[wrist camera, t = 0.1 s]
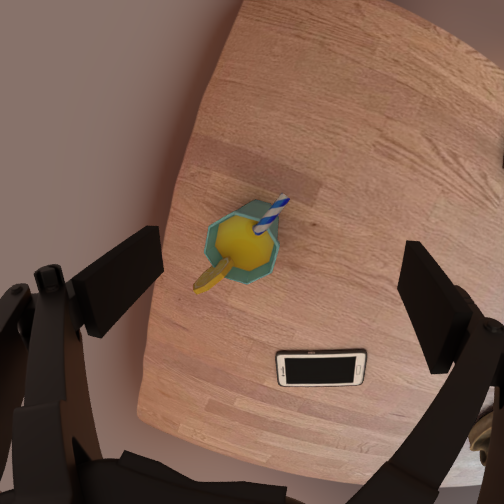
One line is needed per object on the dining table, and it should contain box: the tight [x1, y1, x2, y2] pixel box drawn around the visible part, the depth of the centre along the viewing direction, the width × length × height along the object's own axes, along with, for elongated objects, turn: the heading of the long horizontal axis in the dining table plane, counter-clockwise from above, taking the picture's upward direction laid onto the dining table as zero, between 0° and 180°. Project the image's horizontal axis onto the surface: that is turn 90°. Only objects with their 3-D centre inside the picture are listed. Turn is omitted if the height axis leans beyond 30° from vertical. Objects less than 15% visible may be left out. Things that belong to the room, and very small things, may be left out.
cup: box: [193, 193, 290, 294], centre depth 33 cm, size 14×8×15 cm, turn 144°
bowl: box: [468, 412, 493, 466], centre depth 43 cm, size 14×18×10 cm
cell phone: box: [275, 350, 367, 387], centre depth 47 cm, size 8×15×1 cm, turn 97°
